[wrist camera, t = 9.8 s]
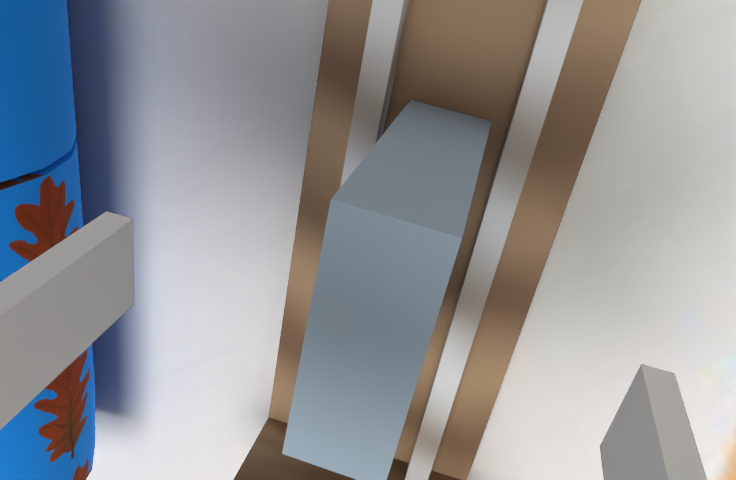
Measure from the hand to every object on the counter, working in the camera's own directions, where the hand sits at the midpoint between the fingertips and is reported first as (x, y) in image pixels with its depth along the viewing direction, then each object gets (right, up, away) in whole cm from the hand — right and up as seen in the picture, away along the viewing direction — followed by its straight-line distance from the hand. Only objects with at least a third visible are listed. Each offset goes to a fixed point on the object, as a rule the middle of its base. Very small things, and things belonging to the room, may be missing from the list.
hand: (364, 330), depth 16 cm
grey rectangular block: (+2, +3, +8) cm, 9 cm away
